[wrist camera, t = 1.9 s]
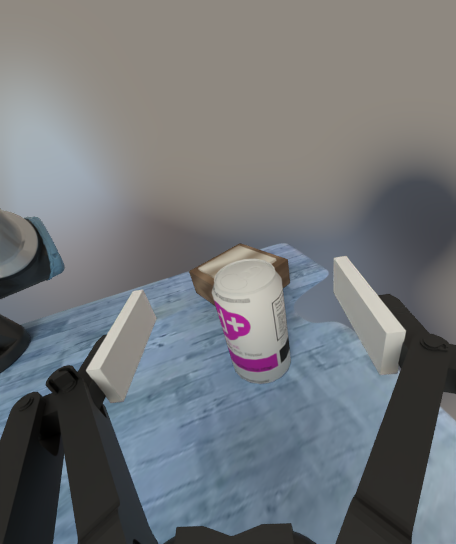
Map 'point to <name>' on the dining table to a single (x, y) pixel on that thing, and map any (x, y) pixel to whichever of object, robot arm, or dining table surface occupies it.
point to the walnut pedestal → (209, 269)
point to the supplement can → (253, 319)
